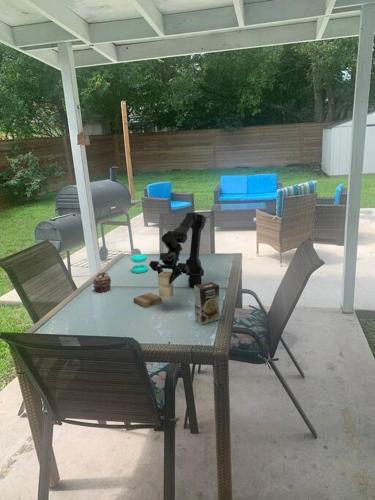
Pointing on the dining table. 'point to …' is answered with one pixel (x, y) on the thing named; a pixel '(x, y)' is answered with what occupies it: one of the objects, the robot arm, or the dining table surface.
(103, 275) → the cupcake
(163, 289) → the maple block
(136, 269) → the cyan spool
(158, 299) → the walnut slab
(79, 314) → the dining table surface
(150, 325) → the dining table surface
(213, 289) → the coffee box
